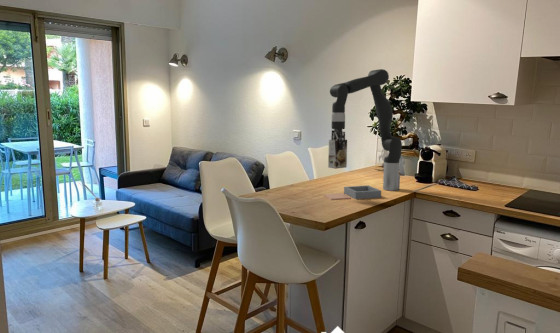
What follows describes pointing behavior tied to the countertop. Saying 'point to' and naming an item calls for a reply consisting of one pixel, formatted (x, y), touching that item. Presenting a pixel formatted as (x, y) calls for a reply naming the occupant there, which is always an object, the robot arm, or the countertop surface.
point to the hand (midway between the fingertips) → (337, 149)
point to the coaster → (337, 196)
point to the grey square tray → (362, 192)
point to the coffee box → (337, 155)
